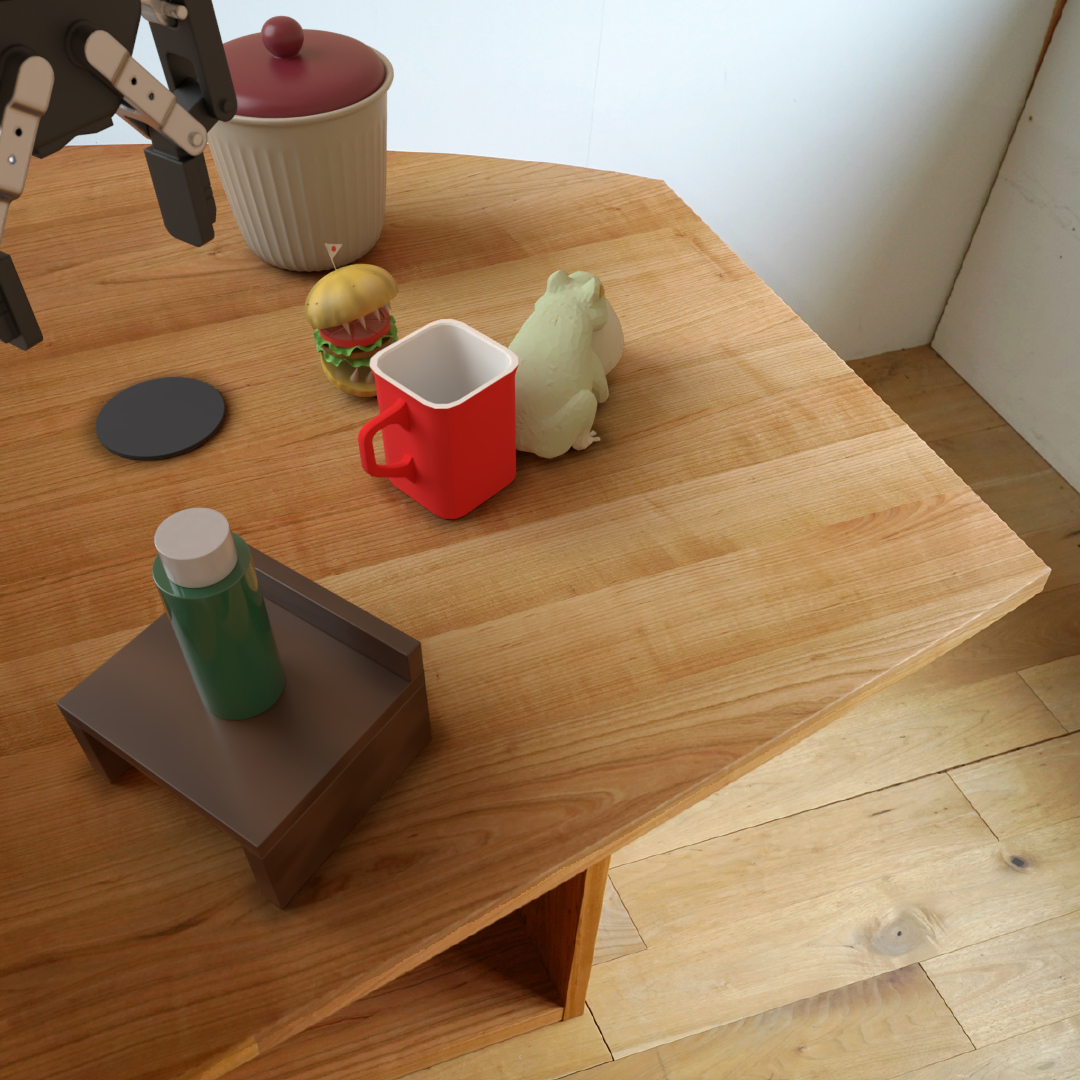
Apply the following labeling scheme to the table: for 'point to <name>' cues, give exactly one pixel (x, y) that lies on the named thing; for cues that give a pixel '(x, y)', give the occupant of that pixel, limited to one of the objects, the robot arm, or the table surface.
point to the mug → (444, 417)
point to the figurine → (564, 364)
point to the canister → (305, 144)
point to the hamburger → (352, 322)
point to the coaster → (160, 418)
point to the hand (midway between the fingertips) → (110, 286)
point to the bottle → (218, 613)
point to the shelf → (268, 727)
